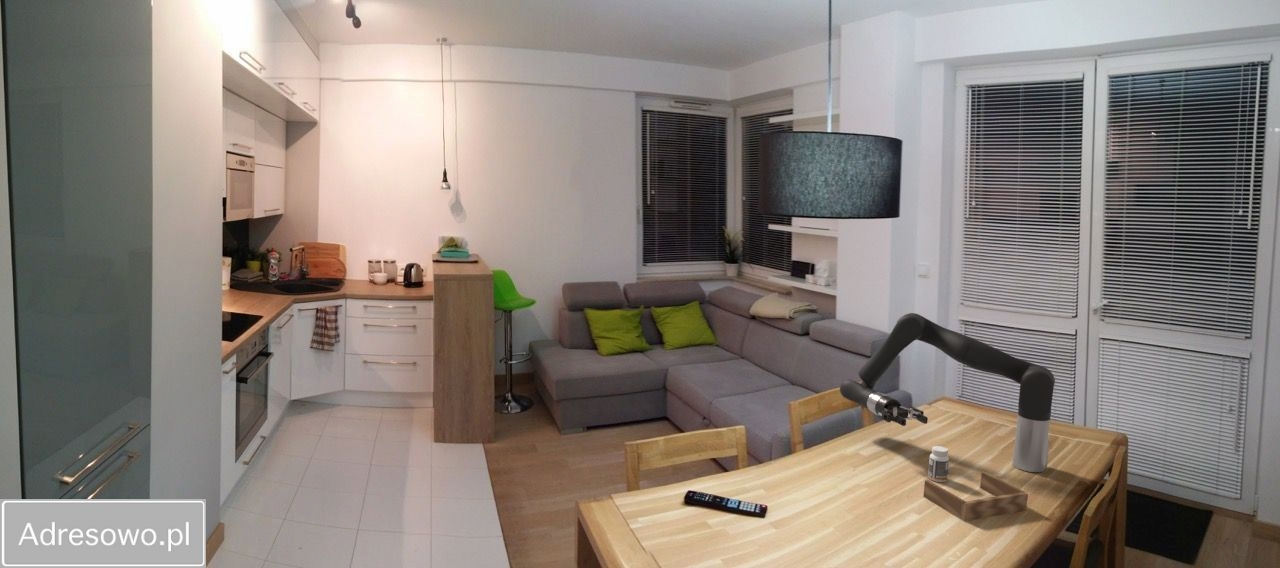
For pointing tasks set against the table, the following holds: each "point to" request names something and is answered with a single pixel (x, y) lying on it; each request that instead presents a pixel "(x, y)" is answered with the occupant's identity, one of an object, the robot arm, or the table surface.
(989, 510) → the frame
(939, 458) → the pill bottle
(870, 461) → the table surface
